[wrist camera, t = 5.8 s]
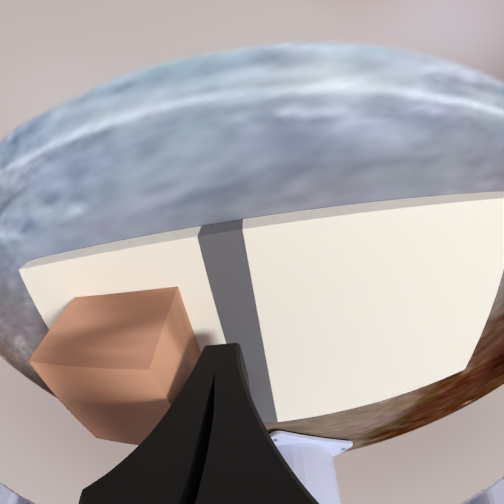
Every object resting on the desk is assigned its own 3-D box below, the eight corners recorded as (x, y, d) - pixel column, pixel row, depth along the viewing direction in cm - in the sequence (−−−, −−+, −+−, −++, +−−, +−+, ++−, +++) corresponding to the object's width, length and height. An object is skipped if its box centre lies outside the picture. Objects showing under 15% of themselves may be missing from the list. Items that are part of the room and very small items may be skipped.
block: (178, 286, 10) (149, 369, 6) (210, 375, 12) (202, 449, 8) (74, 297, 10) (28, 360, 6) (119, 375, 12) (96, 437, 9)
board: (504, 191, 9) (517, 197, 8) (458, 359, 14) (464, 369, 13) (29, 260, 10) (18, 269, 10) (121, 410, 16) (117, 421, 15)
